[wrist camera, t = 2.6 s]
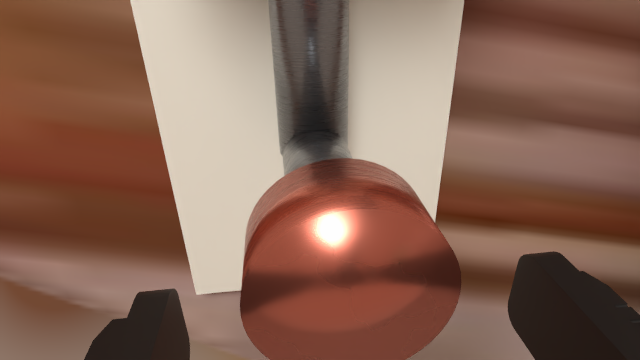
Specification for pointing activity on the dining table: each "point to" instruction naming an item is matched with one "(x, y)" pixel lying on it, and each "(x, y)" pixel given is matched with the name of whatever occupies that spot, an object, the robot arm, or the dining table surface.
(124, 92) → the dining table surface
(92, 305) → the dining table surface
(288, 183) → the ball knob lever
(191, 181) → the cream l-shaped stand
